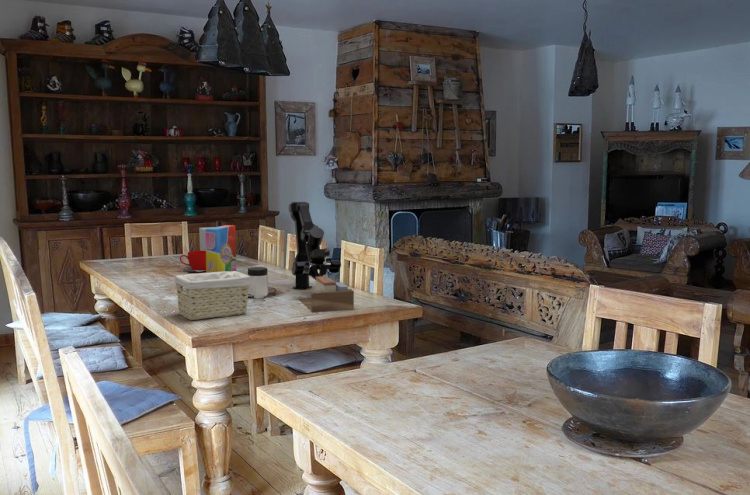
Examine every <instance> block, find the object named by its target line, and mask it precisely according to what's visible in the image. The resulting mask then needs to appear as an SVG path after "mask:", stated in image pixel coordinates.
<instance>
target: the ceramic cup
mask: <svg viewBox="0 0 750 495" xmlns="http://www.w3.org/2000/svg"><path fill="white" fill-rule="evenodd" d="M182 257H185V258H186V259H187V261H188V263H185V262H184V261H183V260H182ZM179 261H180V263H181V264H183V265H185V266H188V267H190V268H191V269H192V270H193V271H194V270H206V251H200V250H193V251H188V252H187V255H186V254H183V255H182V254H181V255H180V256H179Z"/></svg>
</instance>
